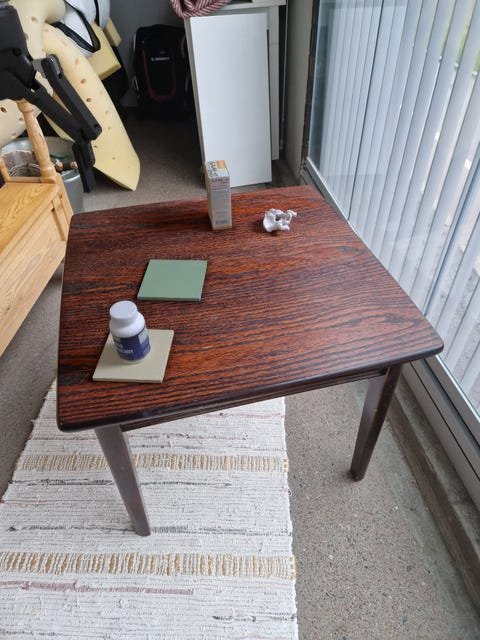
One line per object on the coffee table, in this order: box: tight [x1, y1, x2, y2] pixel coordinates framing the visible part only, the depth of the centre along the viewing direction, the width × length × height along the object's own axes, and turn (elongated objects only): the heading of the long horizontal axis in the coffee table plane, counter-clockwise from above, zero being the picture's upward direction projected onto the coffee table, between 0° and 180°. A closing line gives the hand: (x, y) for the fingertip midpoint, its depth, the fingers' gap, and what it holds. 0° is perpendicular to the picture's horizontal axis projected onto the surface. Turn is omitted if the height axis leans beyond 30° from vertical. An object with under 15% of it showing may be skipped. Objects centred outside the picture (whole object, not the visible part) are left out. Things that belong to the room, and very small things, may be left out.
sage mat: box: [136, 259, 208, 302], centre depth 84 cm, size 12×12×1 cm
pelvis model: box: [262, 207, 298, 233], centre depth 97 cm, size 8×4×7 cm
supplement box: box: [203, 159, 233, 231], centre depth 96 cm, size 8×5×13 cm, turn 11°
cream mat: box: [92, 328, 175, 384], centre depth 70 cm, size 11×11×1 cm
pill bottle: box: [108, 300, 151, 364], centre depth 66 cm, size 5×5×10 cm
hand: (44, 188), depth 61 cm, fingers open, 13 cm apart
